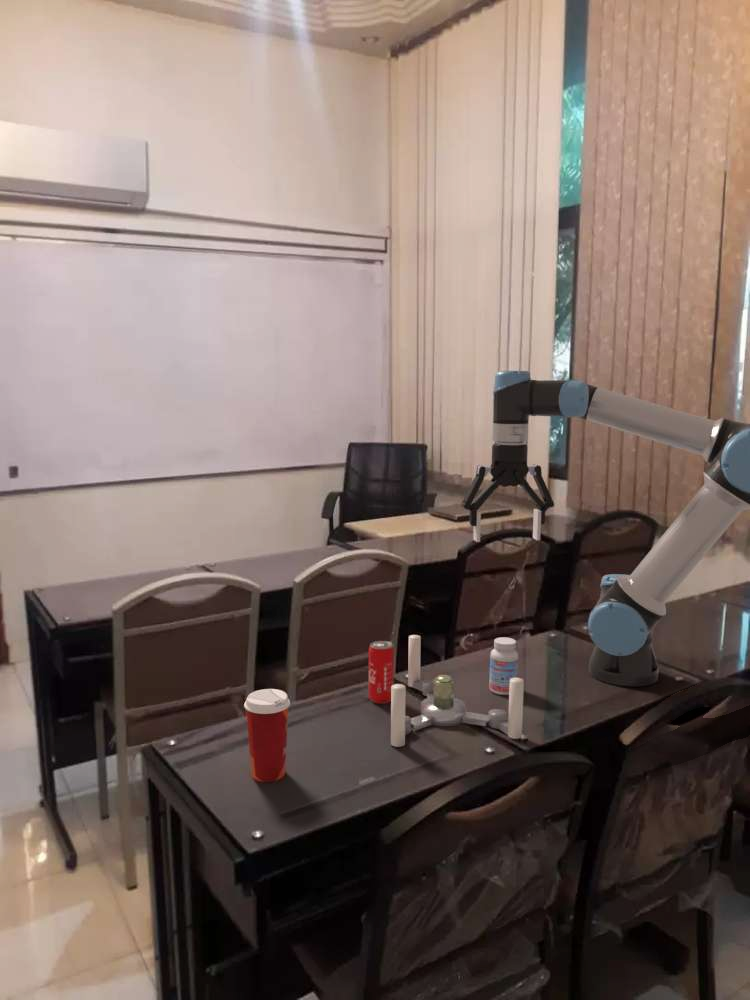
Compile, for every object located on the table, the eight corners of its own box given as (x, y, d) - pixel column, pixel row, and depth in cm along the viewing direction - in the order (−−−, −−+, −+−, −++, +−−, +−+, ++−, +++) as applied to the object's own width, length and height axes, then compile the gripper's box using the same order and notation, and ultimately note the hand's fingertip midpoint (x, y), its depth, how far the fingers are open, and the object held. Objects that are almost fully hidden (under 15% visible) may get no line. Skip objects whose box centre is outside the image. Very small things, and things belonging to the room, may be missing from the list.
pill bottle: (486, 693, 168) (488, 643, 166) (491, 683, 174) (493, 634, 172) (515, 697, 166) (516, 646, 164) (519, 686, 172) (521, 637, 170)
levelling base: (471, 696, 167) (472, 659, 165) (491, 726, 153) (493, 686, 151) (394, 700, 164) (394, 663, 163) (407, 731, 150) (407, 690, 149)
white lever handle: (443, 694, 167) (444, 644, 165) (430, 698, 165) (431, 647, 163) (416, 681, 174) (416, 633, 172) (403, 685, 172) (404, 636, 170)
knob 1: (393, 725, 152) (393, 671, 150) (411, 727, 151) (412, 672, 150) (387, 746, 144) (387, 689, 142) (406, 748, 143) (407, 690, 141)
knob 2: (484, 722, 154) (486, 668, 152) (499, 719, 155) (501, 665, 153) (511, 740, 146) (513, 684, 144) (526, 737, 148) (528, 681, 146)
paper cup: (300, 773, 134) (299, 695, 132) (265, 790, 129) (264, 710, 126) (270, 758, 139) (269, 683, 137) (235, 774, 134) (233, 696, 131)
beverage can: (390, 705, 162) (391, 649, 160) (366, 703, 163) (366, 647, 161) (395, 695, 167) (395, 641, 165) (371, 693, 168) (371, 639, 166)
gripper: (457, 445, 163) (455, 545, 166) (571, 444, 167) (567, 541, 170) (449, 442, 170) (447, 537, 174) (558, 441, 174) (554, 534, 177)
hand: (506, 540), depth 172 cm, fingers open, 13 cm apart
